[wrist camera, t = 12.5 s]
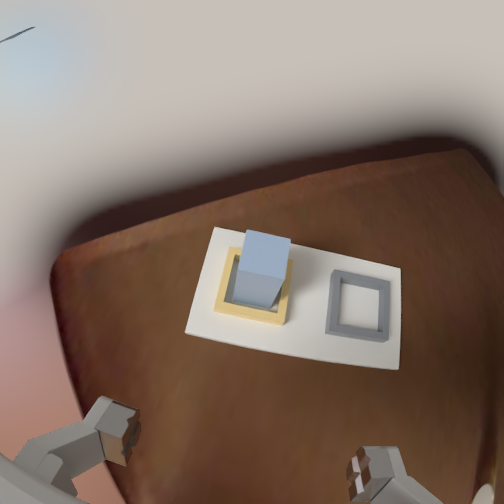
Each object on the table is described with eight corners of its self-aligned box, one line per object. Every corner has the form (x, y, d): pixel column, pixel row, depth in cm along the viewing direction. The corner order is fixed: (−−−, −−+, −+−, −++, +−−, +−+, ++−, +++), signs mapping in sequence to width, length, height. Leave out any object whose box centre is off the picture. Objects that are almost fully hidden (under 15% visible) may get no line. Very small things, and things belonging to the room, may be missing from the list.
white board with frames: (398, 270, 38) (405, 263, 36) (396, 370, 32) (404, 367, 30) (214, 229, 38) (214, 220, 36) (185, 333, 32) (183, 328, 30)
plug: (276, 270, 36) (291, 233, 29) (269, 308, 33) (284, 279, 26) (241, 263, 36) (248, 224, 29) (232, 301, 33) (237, 269, 26)
